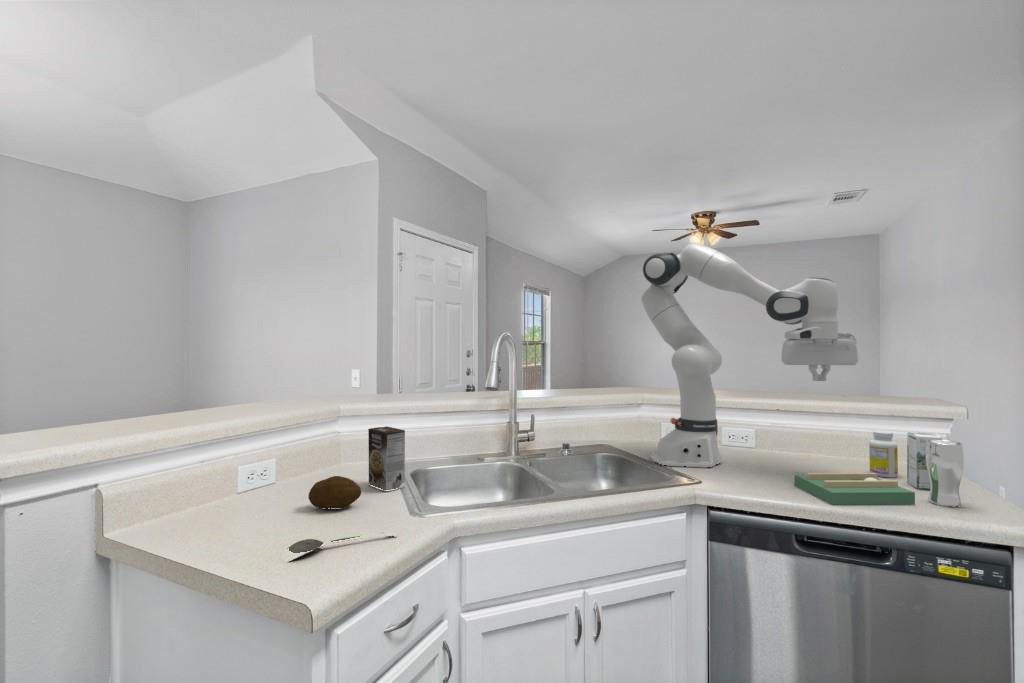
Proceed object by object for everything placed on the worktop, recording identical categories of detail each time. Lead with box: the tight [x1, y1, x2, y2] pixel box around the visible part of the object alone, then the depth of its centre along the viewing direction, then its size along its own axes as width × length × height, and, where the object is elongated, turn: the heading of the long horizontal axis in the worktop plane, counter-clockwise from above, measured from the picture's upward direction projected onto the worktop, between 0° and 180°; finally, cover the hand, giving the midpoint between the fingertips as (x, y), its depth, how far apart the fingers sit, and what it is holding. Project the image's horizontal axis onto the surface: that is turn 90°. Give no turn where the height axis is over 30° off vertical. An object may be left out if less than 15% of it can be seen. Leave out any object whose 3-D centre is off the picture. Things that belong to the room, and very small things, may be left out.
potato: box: [307, 475, 362, 510], centre depth 118 cm, size 8×12×8 cm, turn 102°
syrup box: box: [906, 431, 943, 491], centre depth 131 cm, size 6×6×14 cm
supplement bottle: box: [868, 430, 899, 479], centre depth 144 cm, size 7×7×13 cm
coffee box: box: [368, 426, 406, 490], centre depth 135 cm, size 9×6×16 cm
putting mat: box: [793, 472, 916, 506], centre depth 126 cm, size 20×16×4 cm
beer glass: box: [925, 439, 965, 508], centre depth 119 cm, size 7×7×15 cm
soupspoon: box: [288, 532, 385, 553], centre depth 95 cm, size 22×3×7 cm
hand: (819, 380), depth 141 cm, fingers closed
